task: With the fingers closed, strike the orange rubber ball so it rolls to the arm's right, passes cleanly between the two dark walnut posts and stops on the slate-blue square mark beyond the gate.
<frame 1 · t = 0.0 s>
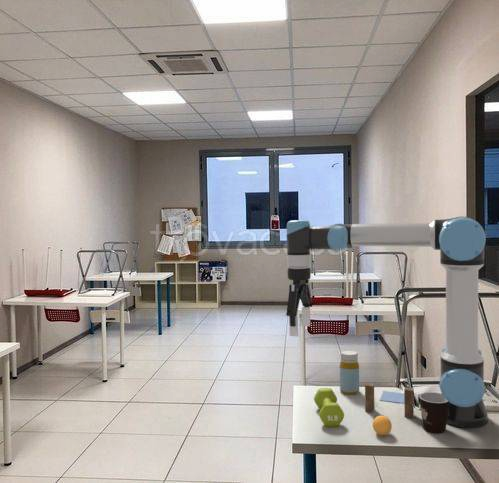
hand: (300, 330, 162), 28 cm above the table, tool pointing down, fingers open, 13 cm apart
post far: (369, 410, 165), on the table
bottle: (349, 392, 181), on the table
coffee mug: (433, 427, 151), on the table
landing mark: (394, 397, 175), on the table
dumbbell: (328, 417, 161), on the table
ball: (382, 425, 147), on the table
post near: (409, 415, 160), on the table
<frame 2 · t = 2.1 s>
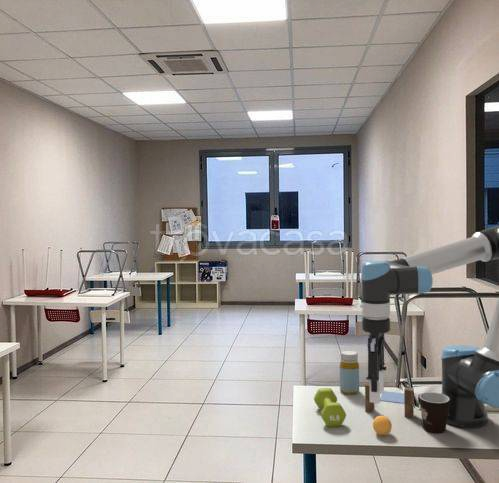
hand: (376, 397, 138), 15 cm above the table, tool pointing down, fingers open, 6 cm apart
nothing on the table moved.
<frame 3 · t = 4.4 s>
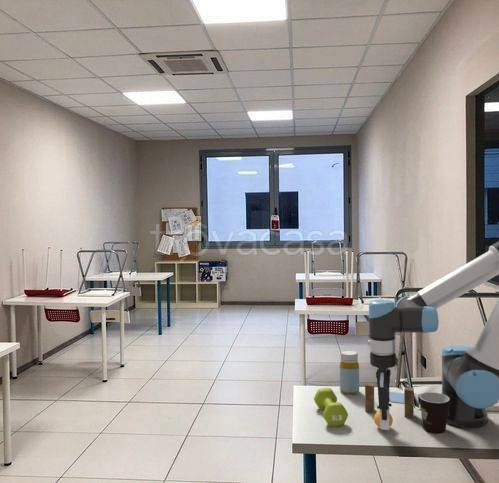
hand: (385, 428, 148), 2 cm above the table, tool pointing down, fingers closed
ball: (383, 419, 151), on the table
everything else where it was.
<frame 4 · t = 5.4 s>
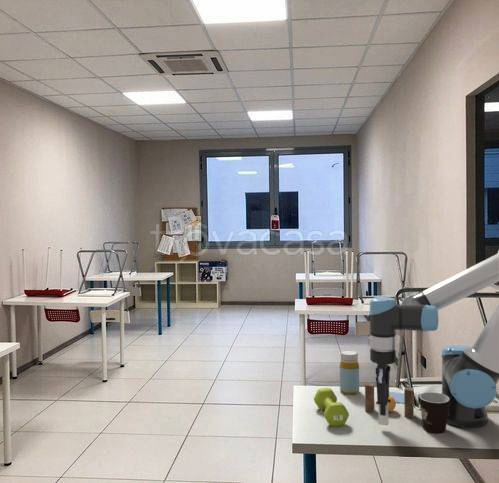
hand: (383, 423, 150), 2 cm above the table, tool pointing down, fingers closed
ball: (387, 403, 164), on the table
everything else where it was.
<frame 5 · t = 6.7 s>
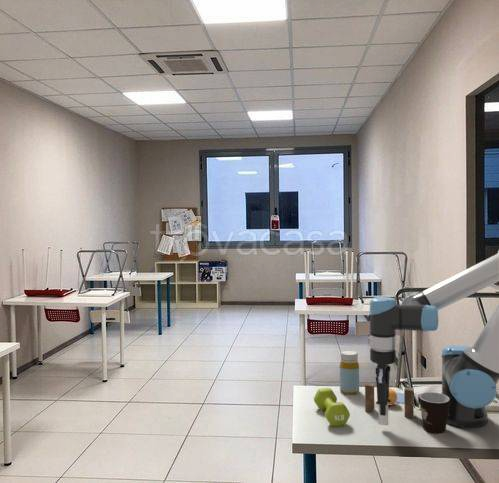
hand: (383, 423, 150), 2 cm above the table, tool pointing down, fingers closed
ball: (388, 396, 169), on the table
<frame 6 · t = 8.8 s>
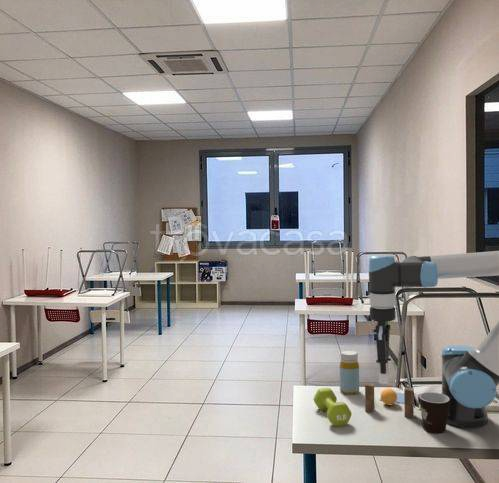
hand: (383, 382, 149), 15 cm above the table, tool pointing down, fingers closed
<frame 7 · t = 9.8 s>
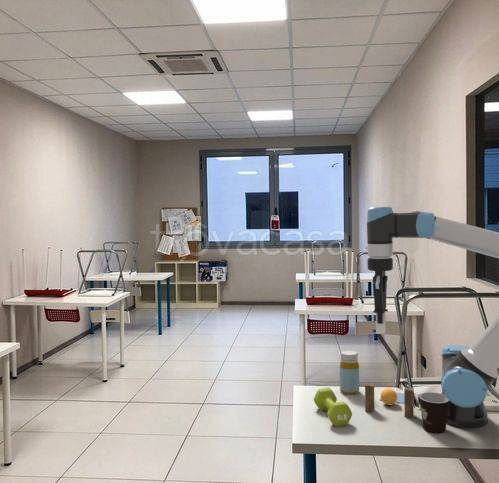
hand: (380, 333, 151), 29 cm above the table, tool pointing down, fingers closed
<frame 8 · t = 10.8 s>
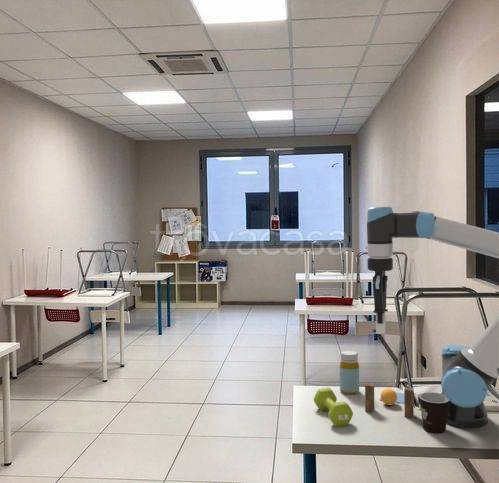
hand: (380, 333, 151), 29 cm above the table, tool pointing down, fingers closed
at the end: ball 6.9 cm from the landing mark (horizontally); ball never touched post near; ball never touched post far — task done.
